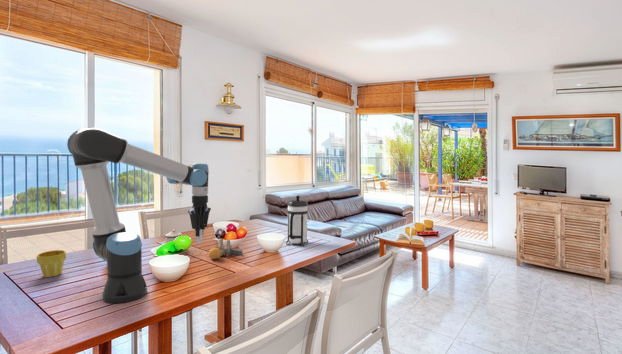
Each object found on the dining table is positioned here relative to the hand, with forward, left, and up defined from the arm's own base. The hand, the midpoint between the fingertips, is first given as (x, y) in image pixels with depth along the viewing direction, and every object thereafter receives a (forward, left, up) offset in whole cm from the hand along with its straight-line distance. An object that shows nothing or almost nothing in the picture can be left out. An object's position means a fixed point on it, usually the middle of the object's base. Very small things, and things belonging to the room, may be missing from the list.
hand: (199, 242), depth 168 cm
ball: (+10, 0, -8) cm, 13 cm away
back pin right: (+18, -3, -11) cm, 21 cm away
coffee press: (+58, -23, -11) cm, 63 cm away
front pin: (+14, 0, -10) cm, 18 cm away
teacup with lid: (+12, +32, -11) cm, 36 cm away
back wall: (+23, 0, -11) cm, 25 cm away
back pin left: (+18, +2, -11) cm, 21 cm away
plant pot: (-42, +46, -11) cm, 64 cm away
